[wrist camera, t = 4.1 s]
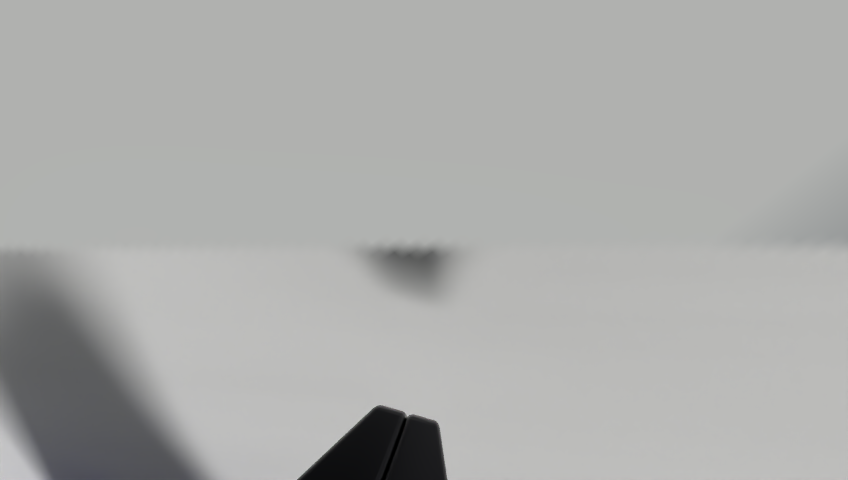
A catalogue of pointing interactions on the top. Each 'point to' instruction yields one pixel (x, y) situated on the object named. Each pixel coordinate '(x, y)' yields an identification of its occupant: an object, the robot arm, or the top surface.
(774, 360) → the top surface
